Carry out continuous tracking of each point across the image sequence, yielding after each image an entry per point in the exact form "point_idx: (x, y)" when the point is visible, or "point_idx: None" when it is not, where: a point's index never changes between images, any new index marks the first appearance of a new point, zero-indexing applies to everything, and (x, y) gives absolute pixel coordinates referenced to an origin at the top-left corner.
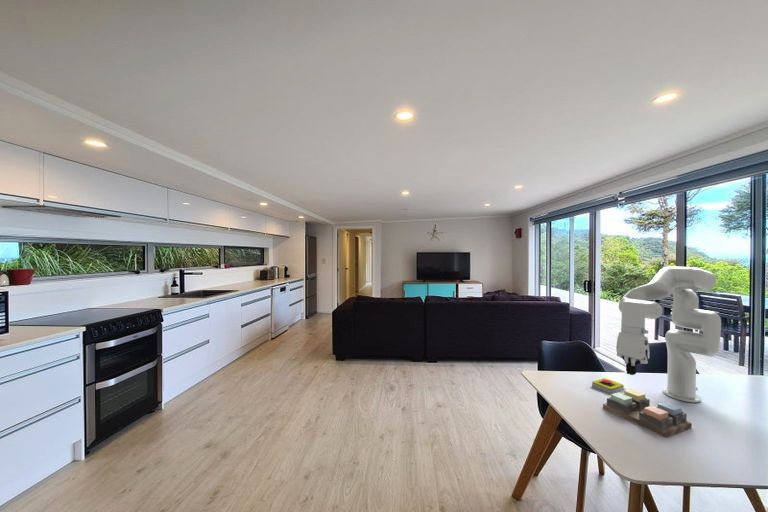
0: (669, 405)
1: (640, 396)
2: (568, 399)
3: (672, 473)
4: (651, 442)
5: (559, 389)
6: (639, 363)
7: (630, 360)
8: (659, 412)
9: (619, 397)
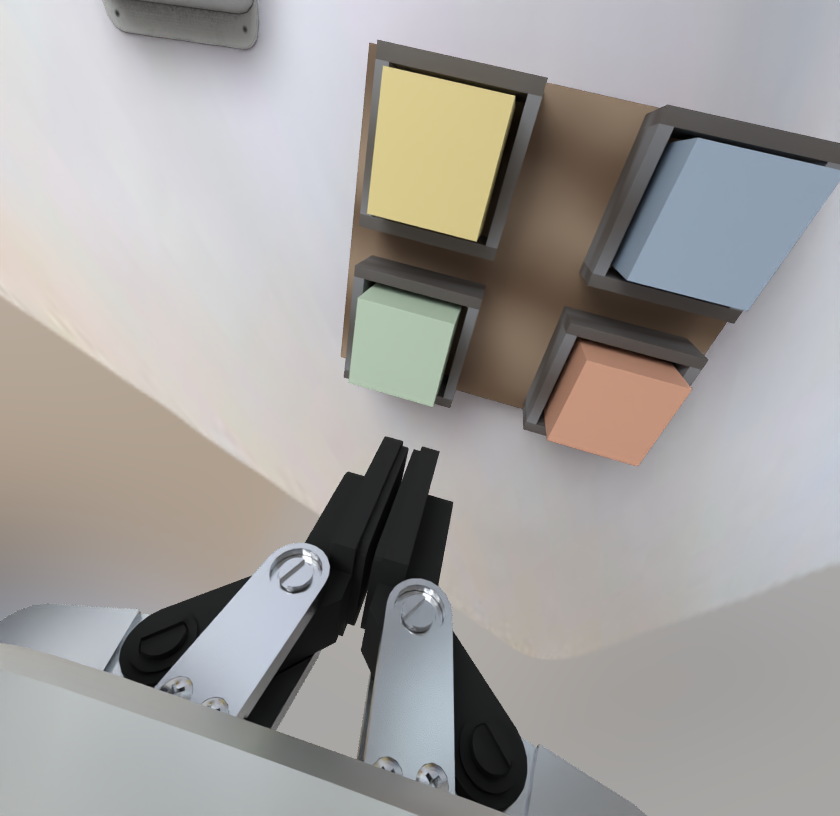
0: (725, 222)
1: (488, 198)
2: (227, 380)
3: (641, 616)
4: (582, 502)
5: (123, 295)
6: (479, 697)
7: (294, 628)
8: (634, 439)
9: (400, 392)
